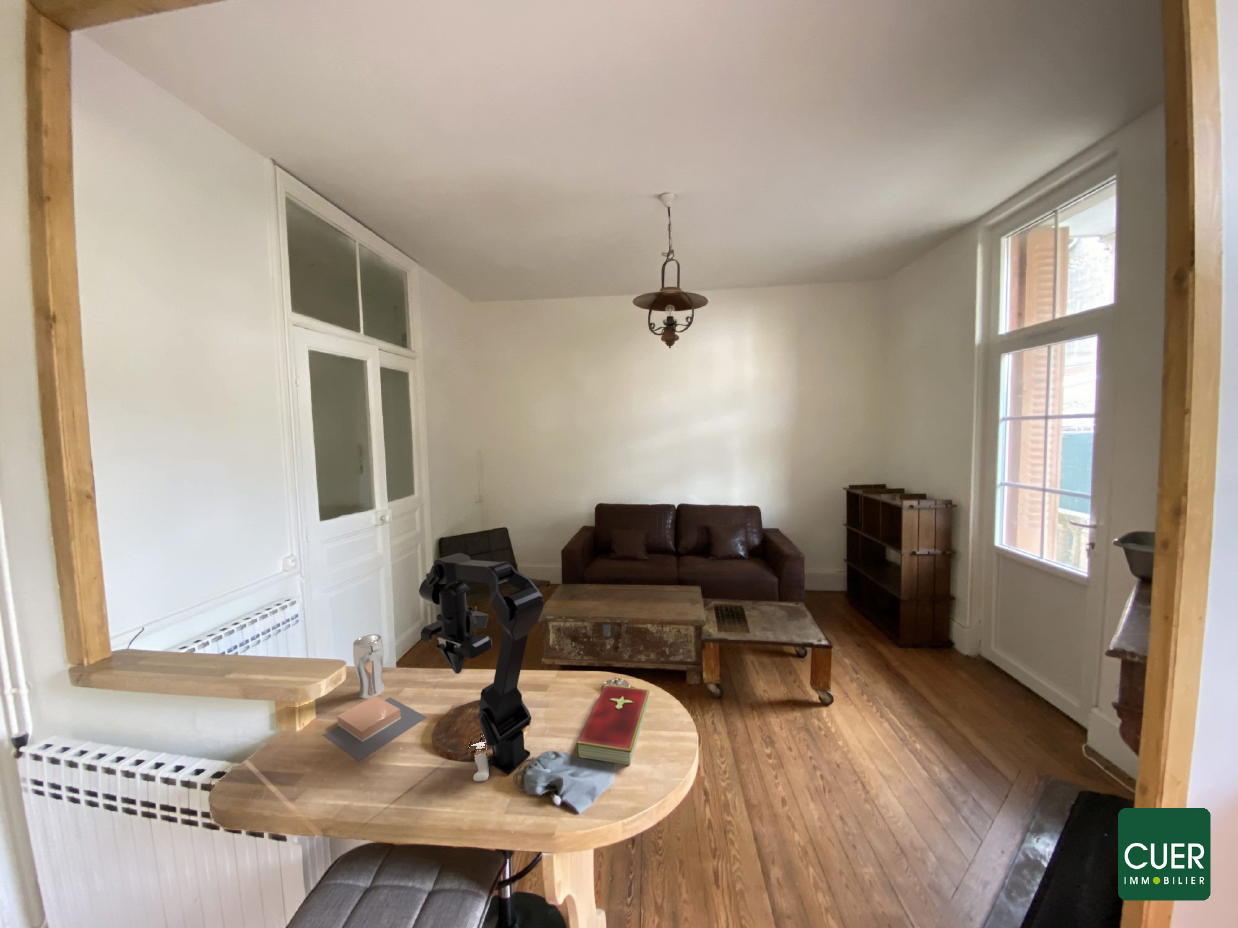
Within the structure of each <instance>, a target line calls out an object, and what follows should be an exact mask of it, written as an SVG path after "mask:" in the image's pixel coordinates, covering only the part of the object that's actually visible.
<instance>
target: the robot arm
mask: <svg viewBox="0 0 1238 928" xmlns="http://www.w3.org/2000/svg"><path fill="white" fill-rule="evenodd" d="M465 582H473V583H480V584H486V585H487V587H488V588H489V592H490V593H489V603H490V605H491V607H492V608H493V610H494V611H495V613H496V614H497V622H498V623H499V625H500V626H501V628H502V635H501V641H500V645H499V646H500V647H499V653H498V656H497V661H496V662H497V663H496V667H495V673H494V677H493V682H492V683H491V684H489V685H487V686H485V687H484V688H482V689H481V691H480V698H479V702H478V704H477V705H478V706H479V709H478V710H479V711H478V720H479V723H480V724H479V725H480V729H481V731H482V732H483V736H484V738H485V741H486V746H488V747H491V752H492V751H493V753H492V756H491V757H489V758H488V765H490V766H492V767H493V768H495V769H497V770H498V771H501V772H503V773H504V774H506V775H510V774H512V773H513V772H514V771H515V770H516V769H517V768H518V767H519V766H520V765H521V764H522V763H523V762H524V761H526V759H528V758H529V757H530V755H531V751H530V750H528V749H526V748H525V737H524V735H525V734H524V729H525V728H527V727H529V726H530V725H531V722H532V716H531V714H530V712H529V710H528V708H527V706H526V705H525V703H524V701H523V694H522V692H521V690H519V688H518V683H519V679H520V675H521V669H522V665H523V661H524V656H525V652H526V648H527V647H526V645H527V642H528V637H529V633H530V631H531V630H532V629H533V627H535V625H536V624H537V622H538V621H539V620H540V618H541V615H542V612H543V609H544V604H545V603H544V598H543V595H542V593H541V591H540V590H539V589H538V588H537V586H536V585H535V583H534V582H533V581H532V579H531V578H530V577H528V576H526V575H524V574H522V573H521V572H519V571H517V569H515V567H514V566H513V564H512V563H511V562H510V561H504V560H503V561H499V562H498V561H489V560H479V559H478V560H476V559H471V558H470V556H469V555H467V554H466V553H462V552H458V553H454V554H452V555H448V556H444V557H441V558H437V559H434V560H433V565H432V566H431V568H430V571H429V572H427V573H426V574H425V579H424V580H423V581H422V582H421V583H420V586H419V588H418V594H419V596H420V597H421V598H422V599H423V600H426V601H428V602H431V603H432V604H435V605H438V606H439V611H440V613H439V614H437V615H436V620H437V621H435V622H433V623H431V624H428V625H426V626H423V628H422V629H421V632H420V640H421V641H424V642H427V643H430V642H431V641H432V638H433V637H432V636H434V635H435V636H437V638H436V639H437V640H438V643H439V644H437V645H436V646H435V648H436V649H437V650H438V651H439V652H440V653H441V655H442V657H444V659H445V661H446V662H447V663H448V665H449V666H450V668H451V669H452V671H453V673H454V674H457V675H458V674H460V673H461V672H462V670H463V667H464V666H463V665H464V664H465V663H464V662H465V659H466V658H468V659H471V660H472V659H475V658H477V657H479V655H482V654H484V653H485V652H487V651H489V650H490V649H492V648H493V639H492V638H491V637H490V636H489V635H486V634H483V633H479V632H477V633H476V634H474V635H472V634H471V633H474V632H475V631H476V630H475V629H481V628H482V629H486V628H487V625H488V620H489V614H488V613H485V612H481V611H477V610H474V608H473V607H472V606H469V605H467V595H466V593H469V592H471V589H470V586H468V585H467V584H465ZM505 582H507V583H508V584H510V585H511V586H512V587H515V588H517V589H518V590H517V591H514V592H511V593H510V594H507V595H504V596H502V594H501V593H500V589H499V584H502V583H505ZM482 732H481V733H482Z"/></svg>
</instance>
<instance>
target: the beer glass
mask: <svg viewBox="0 0 1238 928" xmlns="http://www.w3.org/2000/svg"><path fill="white" fill-rule="evenodd" d="M352 649H353V650H352V658H353V665H354V669H355V672H356V675H357V678H358V682H359V693H358V697H359V698H360V699H369V698H371V697H373V696H375V695H376V696H377V697H378V695H380V694H381V693H383V692H384V691H385V685H384V681H383V669H384V667H383V666H384V659H385V658H384V655H385V653H384V645H383V640H382V636H381V634H367V635H363V636H361V637H359V638H356V639H355V640H354V641H353V643H352Z"/></svg>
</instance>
